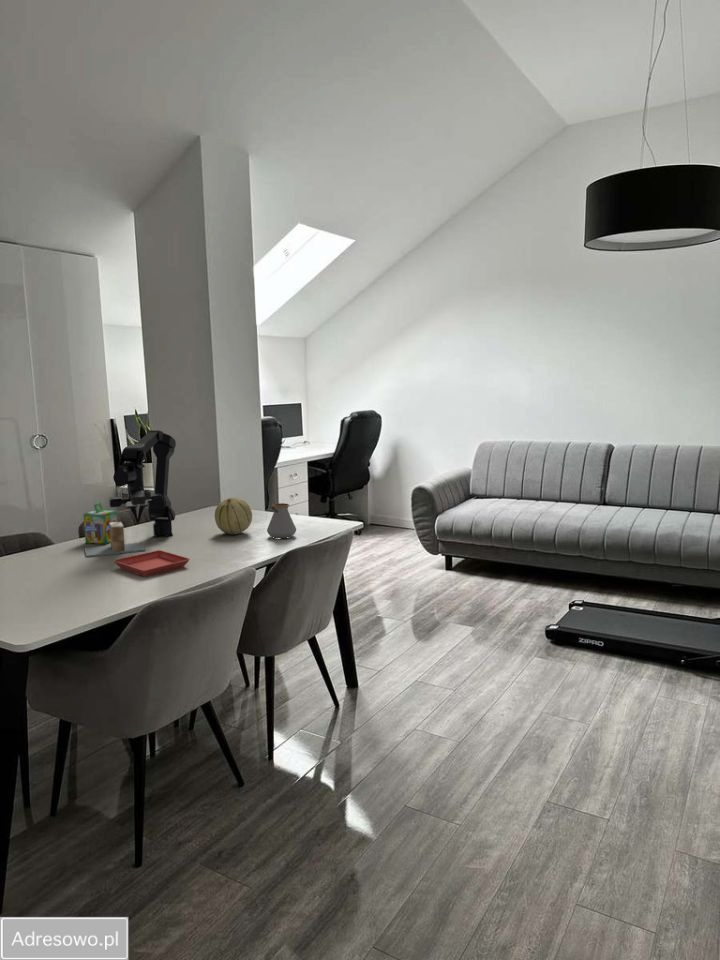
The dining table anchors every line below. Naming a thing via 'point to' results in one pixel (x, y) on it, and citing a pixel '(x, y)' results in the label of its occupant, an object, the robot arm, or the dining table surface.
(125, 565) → the plant saucer
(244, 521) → the cantaloupe
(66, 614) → the dining table surface
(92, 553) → the mat
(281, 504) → the coffee pot
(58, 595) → the dining table surface
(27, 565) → the dining table surface
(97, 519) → the colorful printed box
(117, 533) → the block
